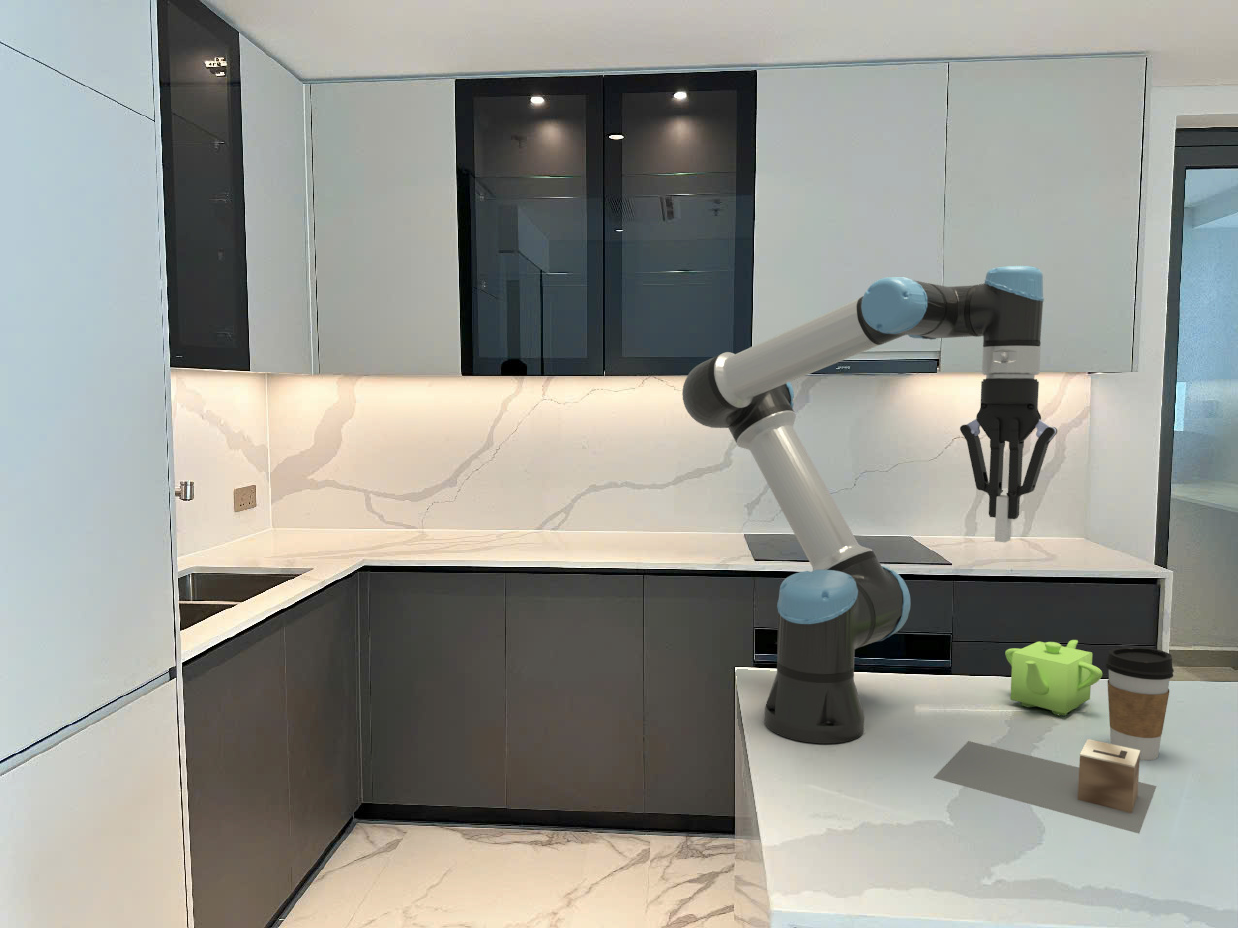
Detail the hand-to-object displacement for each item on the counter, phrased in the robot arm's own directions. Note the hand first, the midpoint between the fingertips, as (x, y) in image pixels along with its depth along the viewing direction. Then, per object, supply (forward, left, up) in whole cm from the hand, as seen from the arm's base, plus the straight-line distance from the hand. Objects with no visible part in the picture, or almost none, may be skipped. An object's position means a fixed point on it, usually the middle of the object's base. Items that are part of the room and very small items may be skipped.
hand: (1002, 540), depth 128 cm
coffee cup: (+17, +9, -31) cm, 36 cm away
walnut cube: (+16, -10, -24) cm, 31 cm away
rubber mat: (+9, -10, -30) cm, 33 cm away
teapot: (+3, +23, -31) cm, 38 cm away
